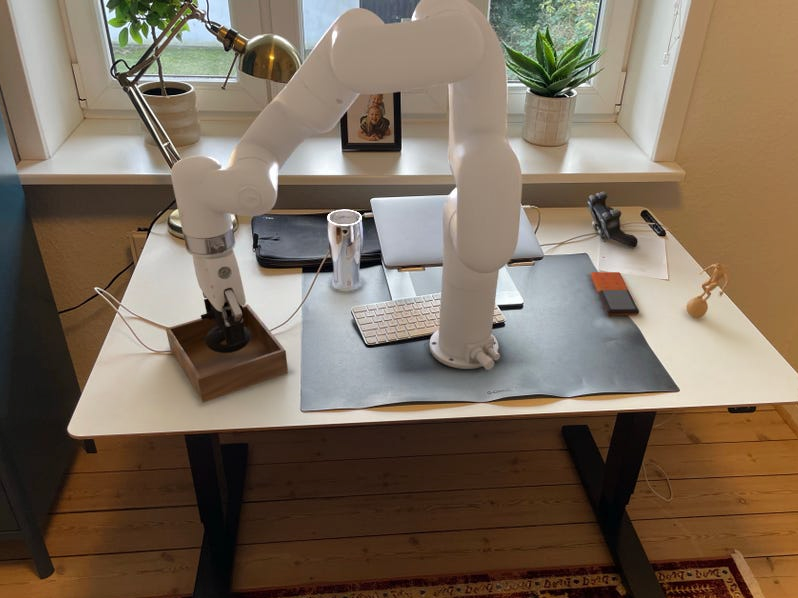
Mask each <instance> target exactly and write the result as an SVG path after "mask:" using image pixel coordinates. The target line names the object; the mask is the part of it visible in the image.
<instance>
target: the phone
mask: <svg viewBox="0 0 798 598" xmlns="http://www.w3.org/2000/svg"><path fill="white" fill-rule="evenodd" d="M589 275H590V278H591V281H592V283H593V285H594V288H595V289H596V292H597V294H598V295H599V296H598V297H599V298H600V301H601V303H602V305H603V308H604V311H605V313H606V315H608V316H638V315H639V314H640V310H639V308H638V306H637V304H636V302H635V300H634V298H633V296H632V294H631V292H630V290H629V288H628V286H627V284H626V282H625V280H624V278H623V276H622V274H621V273H620V272H618V271H593V272H591V273H590V274H589Z"/></svg>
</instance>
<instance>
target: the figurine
mask: <svg viewBox="0 0 798 598" xmlns="http://www.w3.org/2000/svg"><path fill="white" fill-rule="evenodd" d="M712 268H714V270H713V276H710V277H709V278H708V279H707V280H706V281H705V282H703V283H702V284H701V288H702V290H703V293H701V294H700V295H697V296H695V297H692V298H690V299H689V301H687V303H686V307H685V308H686V312H687V314H688V315H689V316H690V317H692V318H702V317H703V316H705V315H706V314H707V312H708V309H709V306H708V303H707V300H708V299H710V297H711V295H712V291H714V290H716V288H718V286H719V281H720V280H722V279H723V278H724V279H725V283H724V285H723V286H722V289H721V291H718V295H717V296H718V297H719V298H721V297H722V296H723V294H724V292H725V290H726V289H727V287H728V285H729V284H730V279H729V271H730V267H729V266H728V265H727V264H722V263H721V262H717V263H713V264H711V265H710V266H708V267H706V268H704V269H703V270H701V272H700V273H699V275H702V274H703V273H704V272H706V271H709V270H711V269H712ZM705 295H707V296H705ZM704 296H705V297H704Z"/></svg>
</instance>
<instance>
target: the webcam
mask: <svg viewBox="0 0 798 598" xmlns="http://www.w3.org/2000/svg"><path fill="white" fill-rule="evenodd" d="M210 304H211V302H210ZM238 305H239V307H240V309H241V311H242V317H243V318H244V311H243V307H242V306H243V305H241V306H240V304H239V303H238ZM226 306H229V305H228V303H227V302H226V303H224V306H223V307H226ZM226 314H227V317H228V318H229V317H230V316H232V315H231V310H227V311H226ZM200 318H202V319H206V318H213V319H214V320H215V322H216V324H217V327H215V328H213V329H212V330H210V331H209V332H208V334H207V336H206V344H207V346H208V347H209V348H210V349H211V350H213V351H215V352H219V353H231V352H235V351H238V350H240V349H242V348H244V347H245V346H246V345H247V344H248V342H249V341H250V332H249V330H248V329H247V328H246V327H244V332H245V340H244V341H241V342H238V343H235V344H232V345H227V344H220V343H221V342H222V341H224V340H225V334H224V329H223V324H225V323H224V320H223V317H222V315H221V312H220V311H218V310H216V309H215V307H214V306H213V305H212V304H211V311H210V312H208V313H206V312H205V313H204V314H200ZM243 318H242V319H243Z"/></svg>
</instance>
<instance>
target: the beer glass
mask: <svg viewBox="0 0 798 598" xmlns="http://www.w3.org/2000/svg"><path fill="white" fill-rule="evenodd" d="M326 220H327V224H326V225H327V226H326V238H327V245H328V246H327V247H328V251H329V256H330V259H331V263H332V278H331V286H332V288H333V289H334V290H337V291H339V292H347V293H349V292H354V291H356V290H358V289H360V288H361V287H362V284H363V281H362V276H361V271H360V270H361V269H360V265H361V259H362V255H363V254H362V253H363V247H364V228H363V221H362V220H363V217H362V215H361V214H360V212H357V211H354V210H351V209H338V210H335V211H334V210H333V211H332V212H330V213H329V214H328V215H327V219H326Z"/></svg>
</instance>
